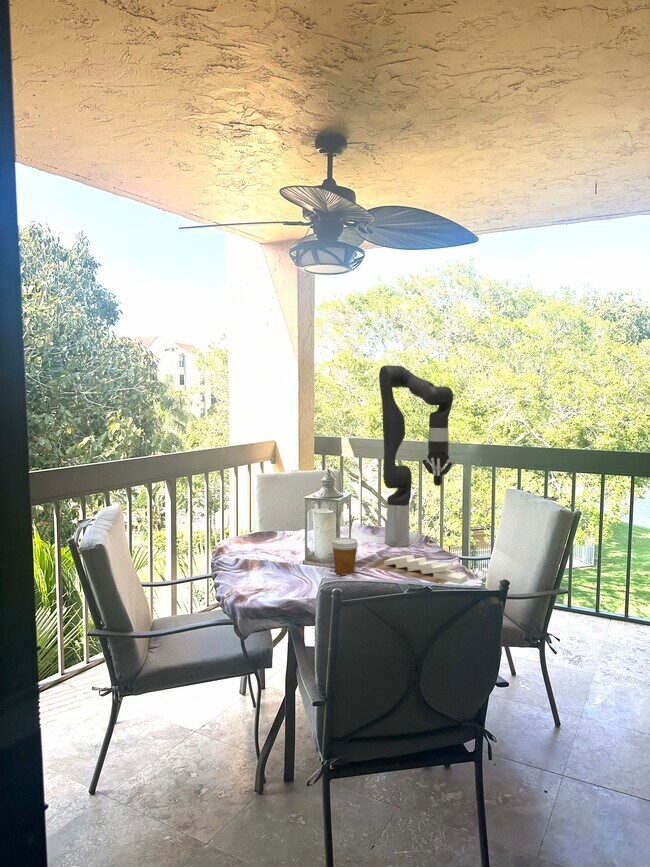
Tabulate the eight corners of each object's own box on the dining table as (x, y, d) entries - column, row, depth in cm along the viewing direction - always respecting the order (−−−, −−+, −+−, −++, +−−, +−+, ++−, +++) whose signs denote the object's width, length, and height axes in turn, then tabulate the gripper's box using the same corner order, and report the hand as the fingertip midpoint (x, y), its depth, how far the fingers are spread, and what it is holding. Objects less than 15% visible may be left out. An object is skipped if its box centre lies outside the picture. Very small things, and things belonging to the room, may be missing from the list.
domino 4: (420, 569, 198) (445, 566, 192) (428, 566, 202) (452, 562, 195) (422, 574, 198) (446, 570, 191) (429, 570, 202) (453, 567, 195)
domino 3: (407, 566, 202) (430, 563, 195) (414, 563, 205) (438, 560, 199) (408, 571, 201) (431, 568, 195) (415, 567, 205) (439, 564, 199)
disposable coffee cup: (362, 571, 204) (362, 538, 203) (352, 579, 195) (352, 545, 194) (337, 568, 208) (337, 536, 207) (326, 576, 199) (326, 542, 198)
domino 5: (433, 572, 195) (460, 578, 188) (440, 569, 199) (467, 575, 192) (433, 577, 195) (460, 583, 188) (440, 573, 199) (467, 579, 192)
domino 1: (383, 561, 208) (405, 557, 202) (391, 558, 212) (413, 554, 205) (384, 565, 208) (407, 562, 201) (392, 562, 212) (414, 558, 205)
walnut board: (363, 567, 208) (363, 565, 208) (385, 559, 219) (385, 556, 219) (441, 587, 188) (441, 584, 188) (461, 576, 198) (461, 573, 198)
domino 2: (395, 563, 205) (418, 560, 198) (402, 560, 209) (425, 557, 202) (396, 568, 205) (419, 564, 198) (404, 565, 208) (426, 561, 202)
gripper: (459, 440, 212) (458, 486, 213) (428, 438, 221) (427, 482, 222) (449, 441, 206) (448, 488, 208) (417, 439, 215) (417, 484, 216)
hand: (437, 485), depth 215 cm, fingers closed
